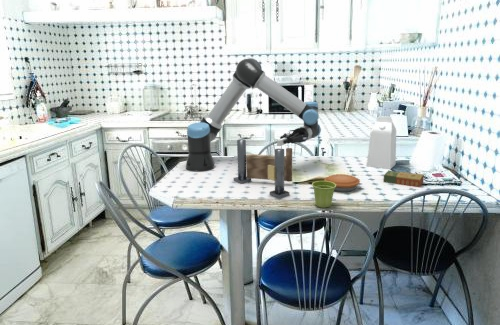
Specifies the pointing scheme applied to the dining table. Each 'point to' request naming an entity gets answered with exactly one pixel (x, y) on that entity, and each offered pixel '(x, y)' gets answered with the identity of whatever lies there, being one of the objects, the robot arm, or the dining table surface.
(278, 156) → the gate posts
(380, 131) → the milk
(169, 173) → the dining table surface
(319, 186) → the plant pot
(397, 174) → the carton
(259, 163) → the gate
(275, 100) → the robot arm
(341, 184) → the pie
